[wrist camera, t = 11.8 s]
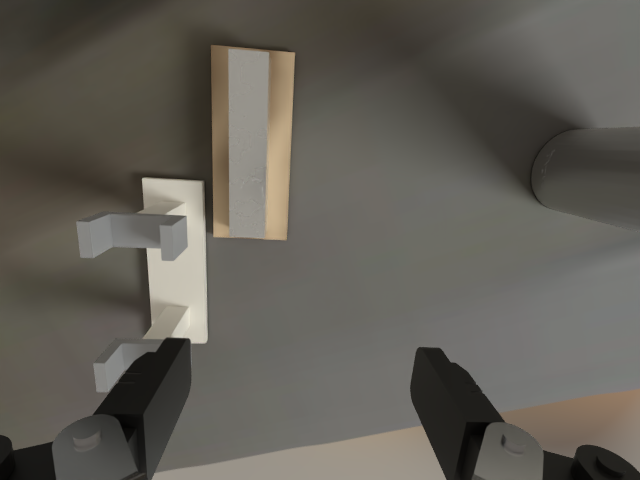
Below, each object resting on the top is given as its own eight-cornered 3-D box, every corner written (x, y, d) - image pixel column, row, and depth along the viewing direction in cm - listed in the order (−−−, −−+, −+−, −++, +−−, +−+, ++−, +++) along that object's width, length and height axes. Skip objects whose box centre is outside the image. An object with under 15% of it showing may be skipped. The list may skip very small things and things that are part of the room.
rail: (271, 61, 34) (268, 52, 31) (267, 229, 38) (264, 238, 35) (234, 58, 34) (228, 48, 30) (234, 228, 38) (229, 236, 35)
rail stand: (208, 180, 37) (170, 198, 26) (211, 338, 42) (180, 412, 31) (141, 177, 37) (72, 192, 25) (152, 337, 42) (99, 412, 30)
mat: (294, 54, 35) (294, 52, 34) (286, 238, 40) (286, 240, 39) (212, 46, 34) (211, 44, 33) (214, 235, 39) (213, 236, 38)
